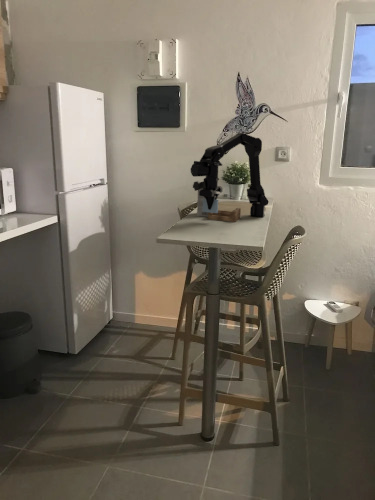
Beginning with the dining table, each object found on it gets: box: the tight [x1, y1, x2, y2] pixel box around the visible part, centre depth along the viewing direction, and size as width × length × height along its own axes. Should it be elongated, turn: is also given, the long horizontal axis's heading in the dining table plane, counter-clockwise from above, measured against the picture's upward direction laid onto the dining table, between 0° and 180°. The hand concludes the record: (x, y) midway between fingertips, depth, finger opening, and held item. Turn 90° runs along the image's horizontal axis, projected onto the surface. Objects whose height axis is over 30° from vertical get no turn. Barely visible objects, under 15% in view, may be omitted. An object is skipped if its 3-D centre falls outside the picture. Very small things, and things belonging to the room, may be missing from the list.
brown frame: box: [207, 207, 242, 223], centre depth 198 cm, size 14×10×5 cm
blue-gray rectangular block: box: [203, 199, 219, 213], centre depth 188 cm, size 7×2×6 cm, turn 70°
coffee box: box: [196, 188, 208, 218], centre depth 205 cm, size 9×6×16 cm
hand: (210, 209), depth 188 cm, fingers closed on blue-gray rectangular block, 2 cm apart
